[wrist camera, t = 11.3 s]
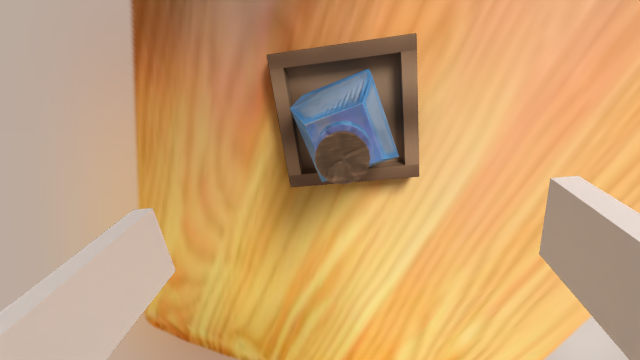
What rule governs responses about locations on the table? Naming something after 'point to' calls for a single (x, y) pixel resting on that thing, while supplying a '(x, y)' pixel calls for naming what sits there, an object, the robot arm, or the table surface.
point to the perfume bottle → (345, 128)
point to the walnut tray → (340, 62)
